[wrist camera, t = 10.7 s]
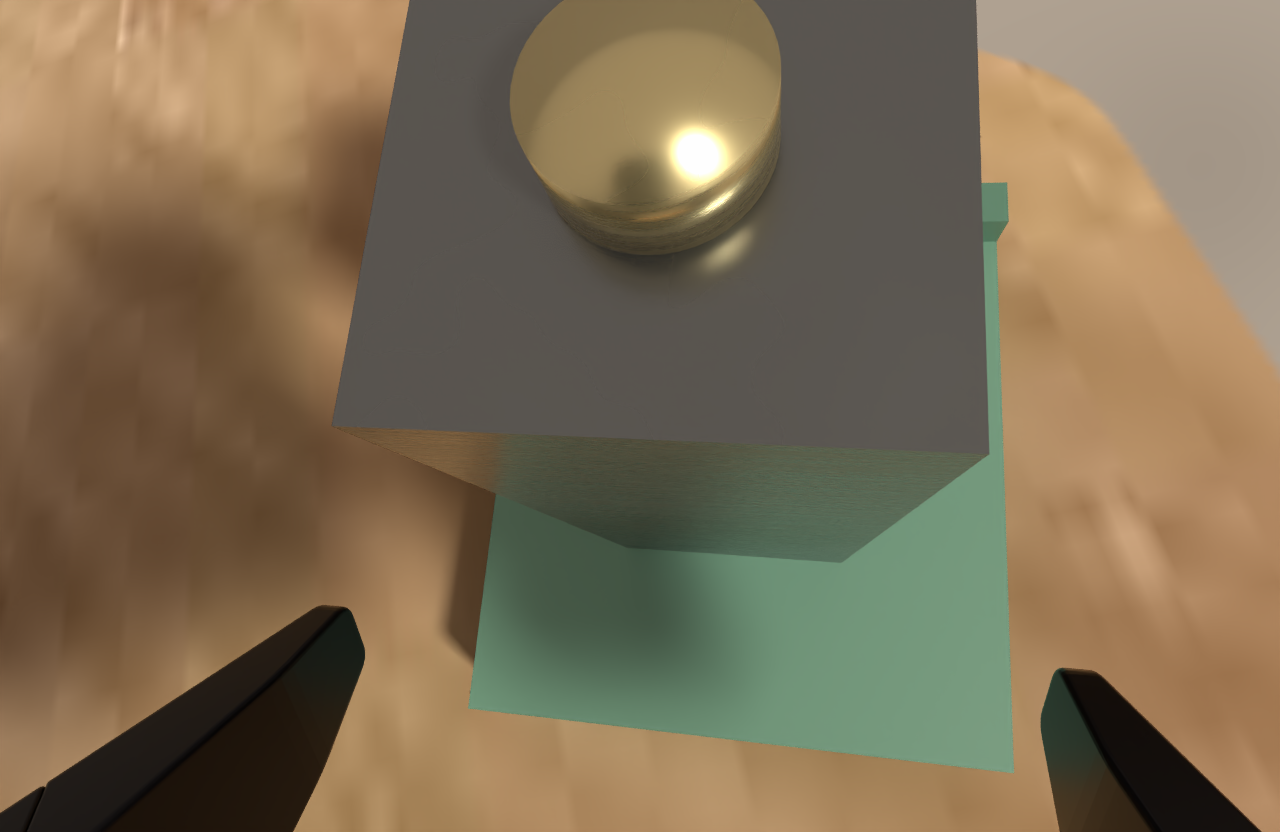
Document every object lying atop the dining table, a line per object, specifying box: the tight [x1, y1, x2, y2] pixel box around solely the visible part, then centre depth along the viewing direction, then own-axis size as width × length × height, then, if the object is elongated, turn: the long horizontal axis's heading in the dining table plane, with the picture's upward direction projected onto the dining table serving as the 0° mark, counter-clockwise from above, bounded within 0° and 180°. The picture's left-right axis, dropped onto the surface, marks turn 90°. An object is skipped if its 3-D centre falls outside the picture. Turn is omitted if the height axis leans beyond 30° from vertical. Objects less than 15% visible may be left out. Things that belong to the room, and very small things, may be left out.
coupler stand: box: [468, 183, 1014, 773], centre depth 19 cm, size 13×12×4 cm
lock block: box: [332, 0, 989, 563], centre depth 12 cm, size 5×5×13 cm
